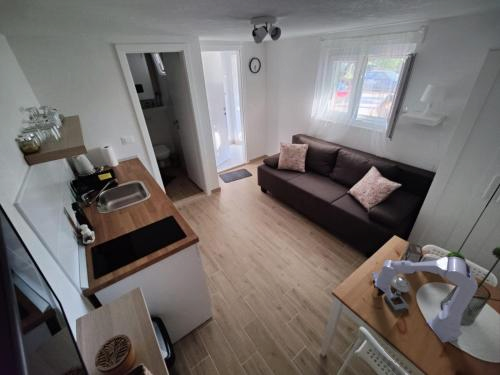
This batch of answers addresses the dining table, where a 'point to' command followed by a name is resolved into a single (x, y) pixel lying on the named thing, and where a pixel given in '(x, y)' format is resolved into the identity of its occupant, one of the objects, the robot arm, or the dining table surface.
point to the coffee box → (412, 253)
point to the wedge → (375, 292)
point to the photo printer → (430, 259)
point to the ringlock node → (398, 293)
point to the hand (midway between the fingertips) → (377, 293)
